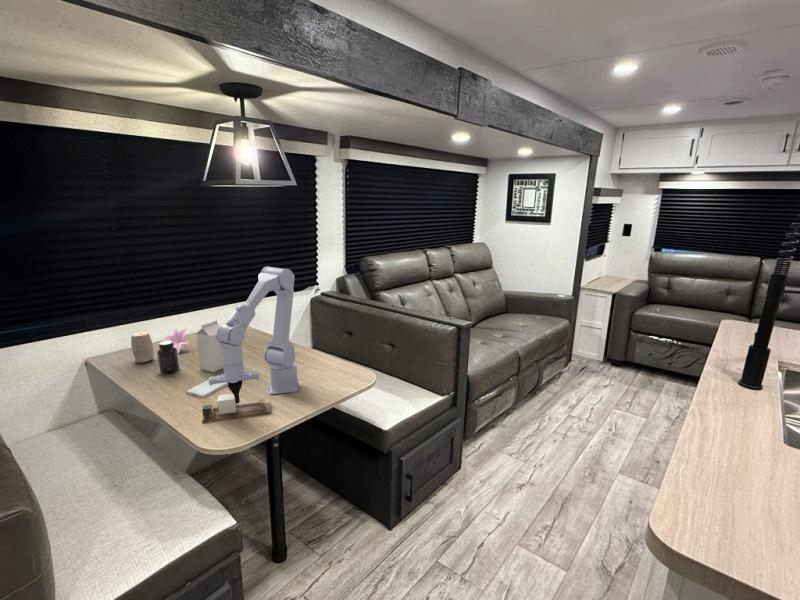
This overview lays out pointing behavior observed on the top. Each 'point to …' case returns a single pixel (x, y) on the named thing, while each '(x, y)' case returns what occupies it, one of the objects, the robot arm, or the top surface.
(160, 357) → the supplement bottle
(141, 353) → the cream barrel-shaped cylinder
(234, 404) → the white rounded cube
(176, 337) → the lily
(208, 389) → the hard drive
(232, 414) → the cord rail
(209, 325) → the milk carton
